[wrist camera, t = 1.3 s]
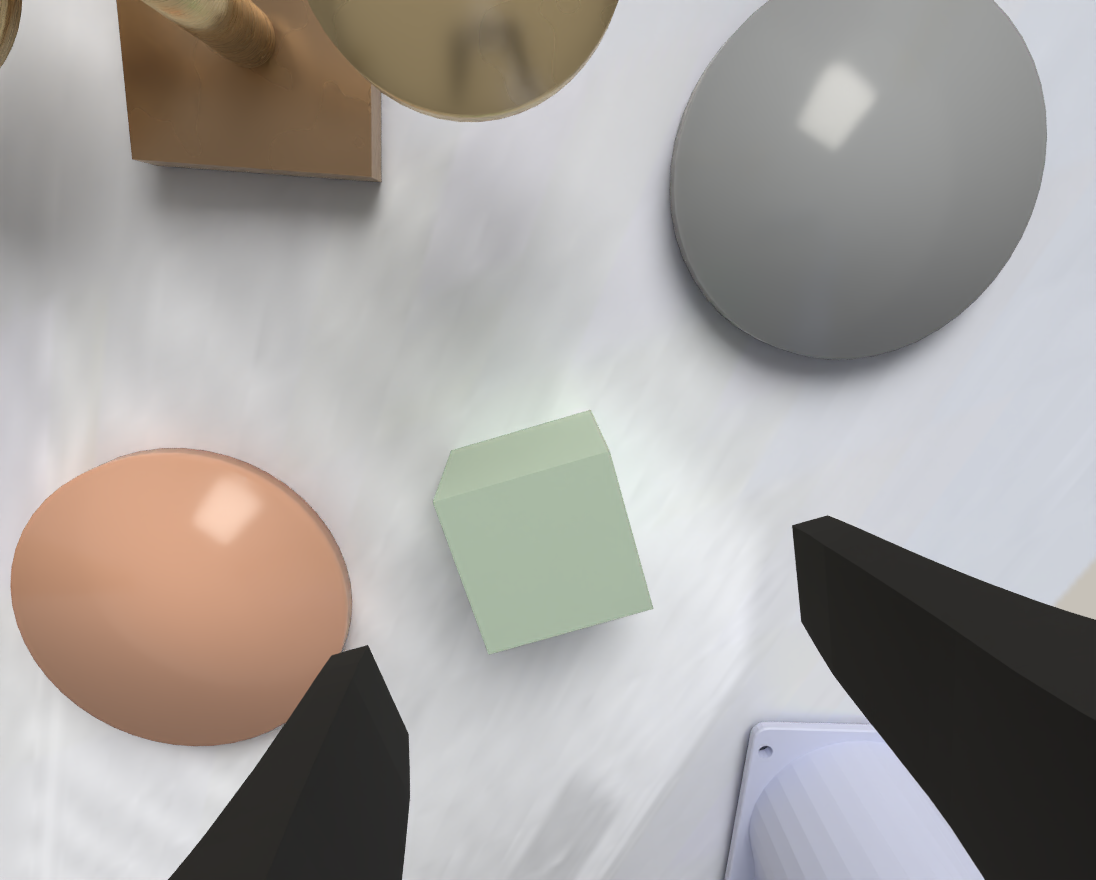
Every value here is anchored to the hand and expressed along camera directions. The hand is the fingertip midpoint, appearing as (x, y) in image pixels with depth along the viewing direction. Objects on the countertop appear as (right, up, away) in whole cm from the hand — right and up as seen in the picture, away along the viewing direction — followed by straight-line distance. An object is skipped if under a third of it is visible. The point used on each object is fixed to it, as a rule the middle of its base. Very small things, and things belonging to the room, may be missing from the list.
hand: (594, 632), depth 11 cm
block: (-1, +1, +10) cm, 10 cm away
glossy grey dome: (+8, +11, +8) cm, 15 cm away
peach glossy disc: (-12, -2, +10) cm, 16 cm away
